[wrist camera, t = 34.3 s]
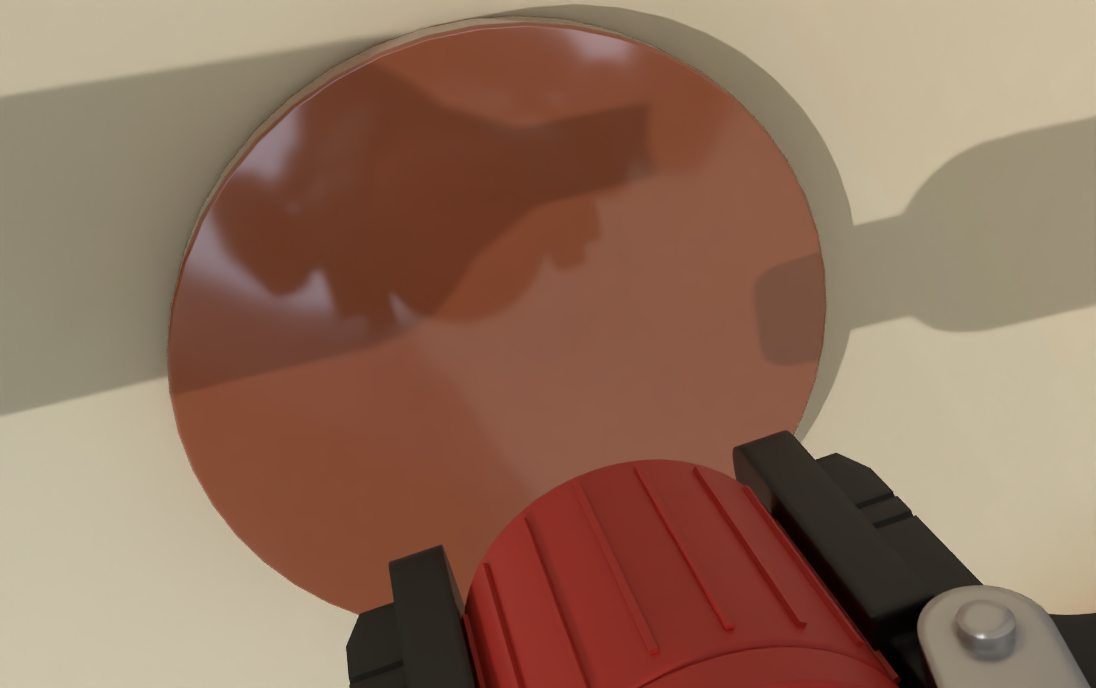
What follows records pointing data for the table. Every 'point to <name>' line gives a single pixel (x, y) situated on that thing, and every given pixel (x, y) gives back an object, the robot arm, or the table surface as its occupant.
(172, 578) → the table surface
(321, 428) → the saucer
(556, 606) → the cap
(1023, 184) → the table surface
